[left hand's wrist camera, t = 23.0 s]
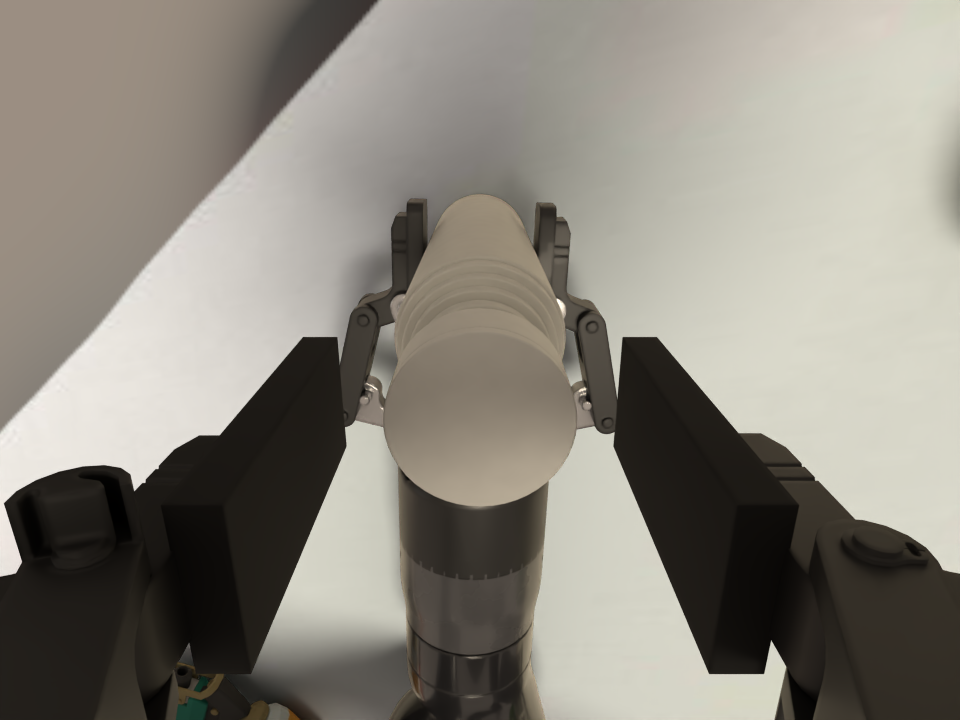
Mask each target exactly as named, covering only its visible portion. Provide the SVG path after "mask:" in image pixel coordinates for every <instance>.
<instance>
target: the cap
mask: <svg viewBox="0 0 960 720" xmlns="http://www.w3.org/2000/svg"><path fill="white" fill-rule="evenodd" d="M383 426H384V433H385V438H386V441H387V444H388V447H389V450H390V452H391V454H392V456H393V458H394V460H395V461H396V463H397V464H398V466H399V467H400V469H401V470H402V471H403V472H404V473H405V475H406V476H407V477H408V478H409V479H410V480H412V481H413V482H414V483H415V484H416V485H417V486H419V487H420V488H422V489H423V490H424V491H426V492H428V493H430V494H432V495H433V496H435V497H438V498H440V499H443V500H445V501H448V502H452V503H455V504H460V505H466V506H494V505H500V504H505V503H508V502H512V501H515V500H518V499H520V498H522V497H525V496H527V495H529V494H531V493H532V492H534V491H536V490H537V489H539V488H540V487H541V486H543V485H544V484H545V483H547V482H548V481H549V480H550V479H551V478H552V477H553V476H554V475H555V474H556V473H557V471H558V470H559V469H560V468H561V466H562V465H563V463H564V462H565V460H566V458H567V457H568V455H569V453H570V450H571V448H572V446H573V442H574V439H575V435H576V428H577V409H576V403H575V398H574V395H573V392H572V389H571V386H570V383H569V380H568V377H567V375H566V372H565V369H564V366H563V363H562V360H561V358H560V356H559V354H558V352H557V350H556V349H555V347H554V346H553V344H552V343H551V341H550V340H549V339H548V338H547V337H546V336H545V335H544V334H543V333H542V332H541V331H540V330H539V329H538V328H537V327H535V326H534V325H533V324H531V323H529V322H528V321H526V320H525V319H523V318H521V317H518V316H516V315H514V314H511V313H508V312H505V311H501V310H495V309H486V308H474V309H465V310H460V311H455V312H452V313H449V314H446V315H444V316H442V317H440V318H438V319H436V320H434V321H432V322H431V323H429V324H428V325H426V326H425V327H424V328H422V329H421V330H420V331H419V332H418V333H417V334H416V335H415V336H414V337H413V338H412V339H411V341H410V342H409V343H408V345H407V346H406V348H405V349H404V351H403V353H402V355H401V357H400V359H399V361H398V364H397V367H396V370H395V372H394V375H393V378H392V381H391V384H390V387H389V390H388V393H387V396H386V399H385V404H384V411H383Z"/></svg>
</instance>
